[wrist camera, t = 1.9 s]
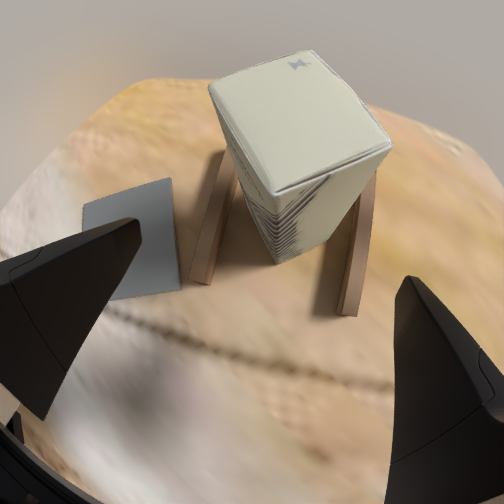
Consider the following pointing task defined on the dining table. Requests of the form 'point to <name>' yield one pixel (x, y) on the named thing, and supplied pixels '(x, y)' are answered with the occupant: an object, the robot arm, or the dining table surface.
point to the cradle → (218, 218)
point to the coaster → (143, 236)
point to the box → (297, 147)
